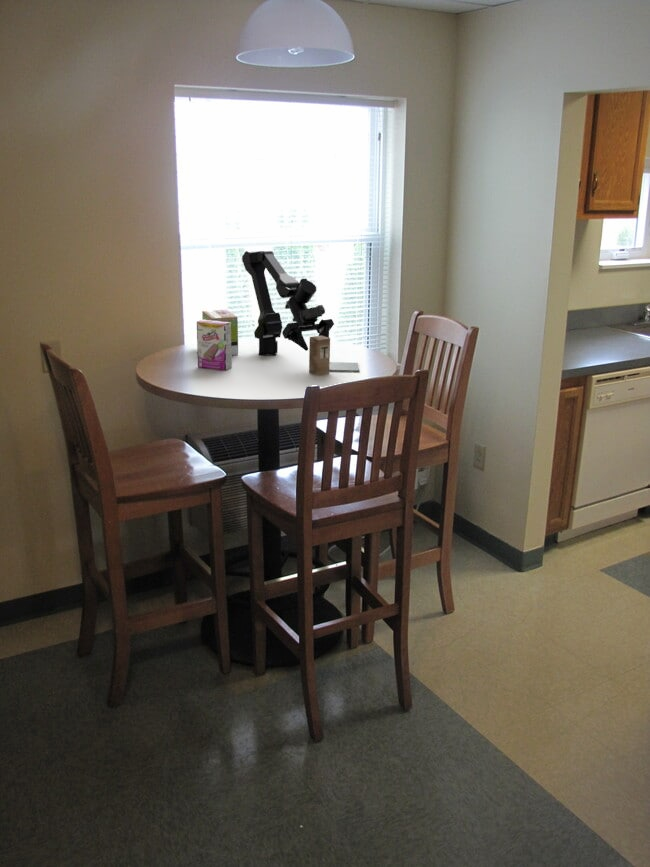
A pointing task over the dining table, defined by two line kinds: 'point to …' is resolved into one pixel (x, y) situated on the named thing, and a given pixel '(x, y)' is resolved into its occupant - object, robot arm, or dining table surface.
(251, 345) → the dining table surface
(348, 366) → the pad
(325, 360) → the letter block
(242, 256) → the robot arm
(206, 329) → the candy bar box
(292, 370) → the dining table surface
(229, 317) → the tea box
